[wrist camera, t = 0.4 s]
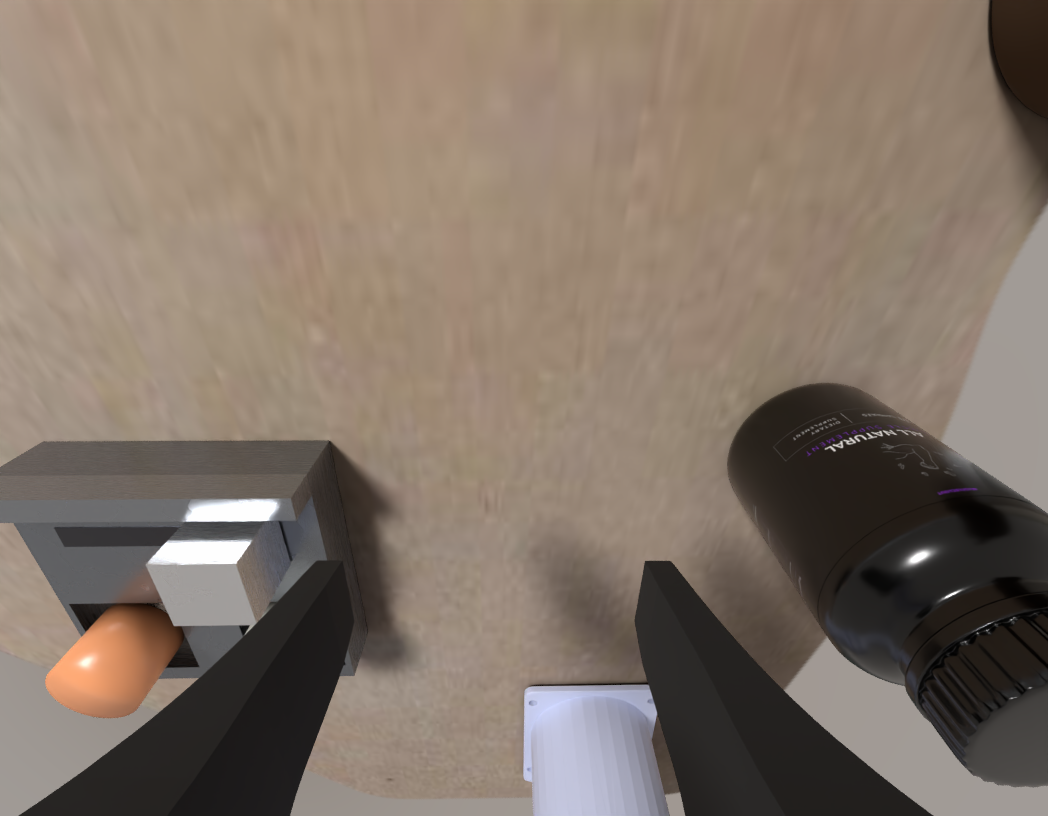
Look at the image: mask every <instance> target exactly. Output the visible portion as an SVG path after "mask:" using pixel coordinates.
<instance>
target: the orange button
mask: <svg viewBox="0 0 1048 816" xmlns="http://www.w3.org/2000/svg"><path fill="white" fill-rule="evenodd" d="M183 640H184V633H183V630H182V628H181V626H174V625H173V623H172V621H171V619H170V616H169V614H167V613H166V612H164V611H162V610H160V609H158V608H156V607H153V606H150V605H147V604H142V603H119V604H116V605H113V606H111V607H109V608H108V609H107V610H106V611H105V612H104V613H103V614H102V615H101V616H100V617H99V618H98V619H97V620H96V622H95V623H94V624H93V625H92V626H91V627H90V628H89V629H88V630H87V631H86V633H85V634H84V635H83V636H82V637H81V638H80V639H79V640H78V641H77V642H76V643H75V645H74V646H73V647H72V648H71V649H70V650H69V651H68V652H67V653H66V654H65V656H64V657H63V658H62V659H61V660H60V661H59V662H58V663H57V664H56V665H55V666H54V668H53V669H52V670H51V671H50V672H49V673H48V675H47V677H46V681H45V683H46V687H47V689H48V691H49V693H50V694H51V695H52V697H53V698H54V699H56V700H57V701H58V702H59V703H61V704H62V705H64V706H65V707H67V708H69V709H71V710H73V711H76V712H79V713H81V714H84V715H88V716H92V717H99V718H118V717H123V716H127V715H129V714H131V713H133V712H134V711H136V710H137V708H138V707H139V706H140V704H141V703H142V701H143V700H144V698H145V697H146V696H147V694H148V693H149V691H150V690H151V688H152V687H153V685H154V684H155V683H156V681H157V680H158V678H159V677H160V675H161V674H162V672H163V671H164V670H165V668H166V667H167V665H168V664H169V662H170V661H171V659H172V658H173V656H174V655H175V654H176V652H177V651H178V649H179V648H180V646H181V645H182V643H183Z"/></svg>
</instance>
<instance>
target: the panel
mask: <svg viewBox="0 0 1048 816" xmlns="http://www.w3.org/2000/svg"><path fill="white" fill-rule="evenodd" d="M188 521H279V524H280V528H281V531H282V535H283V538H284V542H285V545H286V549H287V552H288V556H289V559H290V563H291V565H290V567H289V569H288V570H287V572H286V574H285V576H284V578H283V579H282V581H281V583H280V585H279V587H278V588H277V590H276V592H275V594H274V596H273V597H272V599H271V601H270V602H277V601H278V600H279V599H280V598H281V597H282V596H283V595H284V594H285V593H286V592H287V591H288V590H289V589H290V588H291V587H292V586H293V585H294V583H295V582H296V581H297V580H298V579H299V578H300V577H301V576H302V575H303V574H304V573H305V572H306V571H307V570H308V569H309V568H310V566H311V565H312V564H313V563H315V562H316V561H317V560H343V565H344V570H345V575H346V580H347V585H348V590H349V595H350V601H351V606H352V611H353V616H354V625H353V630H352V634H351V638H350V642H349V646H348V650H347V654H346V658H345V661H344V665H343V668H342V671H341V674H340V676H354V675H355V672H356V669H357V666H358V662H359V659H360V656H361V653H362V649H363V646H364V643H365V640H366V637H367V633H368V630H367V625H366V620H365V615H364V610H363V605H362V600H361V595H360V591H359V586H358V581H357V576H356V571H355V566H354V561H353V556H352V551H351V546H350V541H349V536H348V531H347V527H346V522H345V517H344V512H343V507H342V502H341V497H340V492H339V487H338V482H337V477H336V472H335V467H334V462H333V458H332V453H331V448H330V443H329V441H122V442H42V443H40V444H38V445H37V446H35V447H33V448H32V449H30V450H28V451H27V452H25V453H23V454H21V455H20V456H18V457H16V458H15V459H13V460H11V461H10V462H8V463H6V464H5V465H3V466H1V467H0V523H14V525H15V526H16V528H17V530H18V531H19V533H20V535H21V536H22V538H23V540H24V541H25V543H26V545H27V546H28V548H29V550H30V552H31V553H32V555H33V557H34V558H35V560H36V562H37V563H38V565H39V567H40V568H41V570H42V572H43V573H44V575H45V577H46V578H47V580H48V582H49V583H50V585H51V587H52V588H53V590H54V592H55V593H56V595H57V597H58V598H59V600H60V602H61V603H62V605H63V607H64V608H65V610H66V612H67V613H68V615H69V617H70V618H71V620H72V622H73V623H74V625H75V627H76V628H77V630H78V632H79V633H80V635H81V637H82V636H83V635H84V634H85V633H86V631H87V630H88V629H89V628H90V627H91V626H92V625H93V624H94V623H95V622H96V620H97V619H98V618H99V617H100V616H101V615H102V614H103V613H104V612H105V611H106V610H107V609H108V608H109V607H111V606H113V605H116V604H119V603H163V601H162V599H161V597H160V595H159V593H158V591H157V589H156V586H155V584H154V582H153V580H152V578H151V576H150V573H149V571H148V569H147V567H146V564H147V563H148V561H149V560H150V559H151V558H152V557H153V556H154V555H155V554H156V553H157V552H158V551H159V549H160V548H161V547H162V546H163V545H164V544H165V543H166V542H167V541H168V540H169V539H170V537H171V536H172V535H173V534H174V533H175V532H176V531H177V530H178V529H179V528H180V527H181V525H182V524H183V523H184V522H188ZM269 604H270V603H269ZM249 626H250V625H221V626H181V628H182V630H183V633H184V640H183V643H182V645H181V646H180V648H179V649H178V651H177V652H176V654H175V655H174V656H173V658H172V659H171V661H170V662H169V664H168V665H167V667H166V668H165V670H164V671H163V672H162V674H161V675H160V677H159V678H158V679H164V678H200V677H201V676H202V675H203V674H204V673H205V672H206V671H207V670H208V669H210V668H211V667H212V666H213V665H214V664H215V663H216V662H217V661H218V660H219V659H220V658H221V657H222V656H223V655H224V654H225V653H227V652H228V651H229V650H230V649H231V648H232V647H233V646H234V645H235V644H236V643H237V642H238V641H239V640H240V639H241V638H242V637H243V636H244V635H245V633H246V631H247V630H248V628H249Z"/></svg>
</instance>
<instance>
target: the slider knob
mask: <svg viewBox="0 0 1048 816" xmlns="http://www.w3.org/2000/svg"><path fill="white" fill-rule="evenodd" d="M290 565H291V563H290V559H289V556H288V552H287V549H286V545H285V542H284V538H283V535H282V531H281V528H280V524H279V521H188V522H184V523H183V524H182V525H181V527H180V528H179V529H178V530H177V531H176V532H175V533H174V534H173V535H172V536H171V537H170V539H169V540H168V541H167V542H166V543H165V544H164V545H163V546H162V547H161V548H160V549H159V551H158V552H157V553H156V554H155V555H154V556H153V557H152V558H151V559H150V560H149V561H148V563H147V564H146V567H147V569H148V571H149V573H150V576H151V578H152V580H153V582H154V584H155V586H156V589H157V591H158V593H159V595H160V597H161V599H162V601H163V604H164V606H165V608H166V610H167V612H168V614H169V616H170V619H171V621H172V623H173V625H174V626H221V625H255V624H256V623H257V622H258V621H259V620H260V619H261V617H262V615H263V614H264V612H265V610H266V608H267V606H268V605H269V603H270V601H271V599H272V597H273V596H274V594H275V592H276V590H277V588H278V587H279V585H280V583H281V581H282V579H283V578H284V576H285V574H286V572H287V570H288V569H289V567H290Z"/></svg>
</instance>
